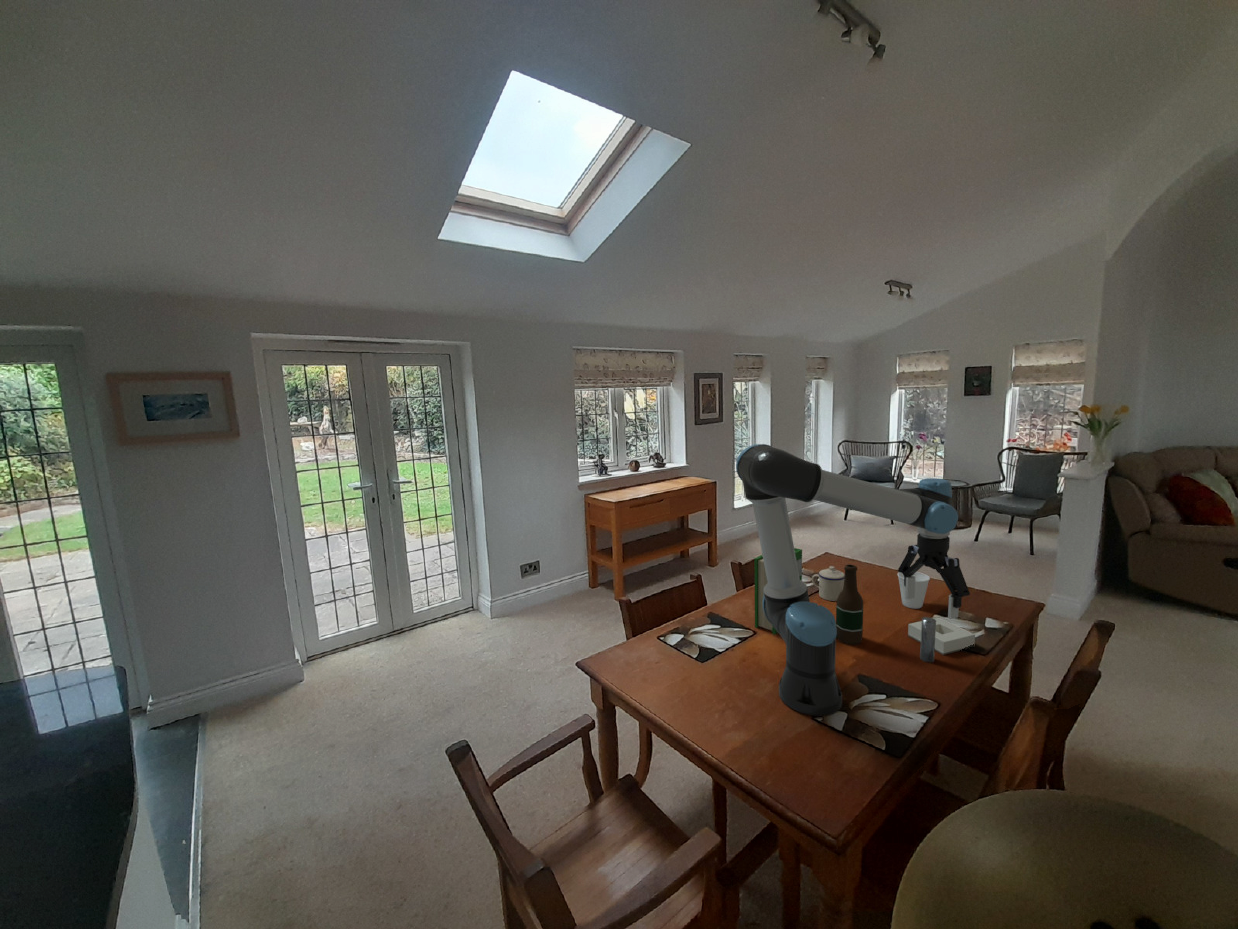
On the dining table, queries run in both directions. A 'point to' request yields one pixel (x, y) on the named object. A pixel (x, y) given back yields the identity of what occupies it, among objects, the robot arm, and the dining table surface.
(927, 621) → the pin
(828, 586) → the teacup with lid
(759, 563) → the hardback book
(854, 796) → the dining table surface
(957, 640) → the bore block
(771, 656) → the dining table surface
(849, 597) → the beer bottle
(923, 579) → the cup
